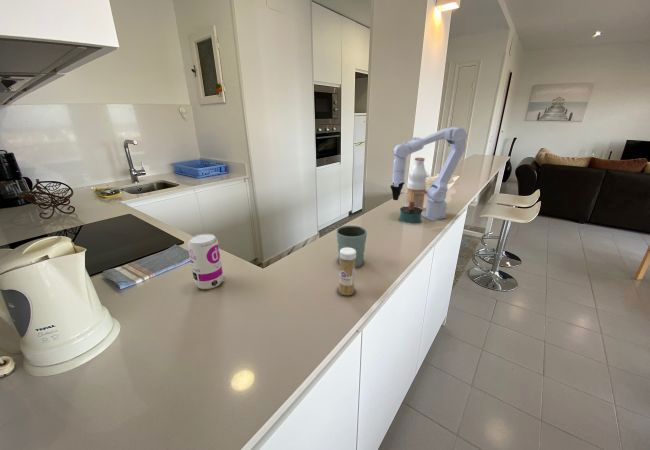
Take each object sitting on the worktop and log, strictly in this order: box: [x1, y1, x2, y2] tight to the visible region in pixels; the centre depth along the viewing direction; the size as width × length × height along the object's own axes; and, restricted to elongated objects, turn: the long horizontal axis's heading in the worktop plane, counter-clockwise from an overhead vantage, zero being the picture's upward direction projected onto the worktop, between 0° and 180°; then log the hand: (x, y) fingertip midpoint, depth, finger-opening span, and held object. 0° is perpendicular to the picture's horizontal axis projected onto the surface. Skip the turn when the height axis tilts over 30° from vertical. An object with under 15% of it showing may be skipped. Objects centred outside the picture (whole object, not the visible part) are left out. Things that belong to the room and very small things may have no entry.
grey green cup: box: [336, 225, 368, 268], centre depth 96 cm, size 10×10×12 cm
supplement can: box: [187, 233, 224, 290], centre depth 83 cm, size 8×8×15 cm
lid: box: [399, 201, 423, 214], centre depth 134 cm, size 10×10×5 cm
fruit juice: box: [404, 157, 428, 210], centre depth 150 cm, size 9×9×28 cm
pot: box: [399, 210, 422, 224], centre depth 136 cm, size 10×10×5 cm
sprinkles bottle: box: [338, 247, 356, 296], centre depth 79 cm, size 5×5×13 cm
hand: (396, 198), depth 138 cm, fingers open, 7 cm apart
